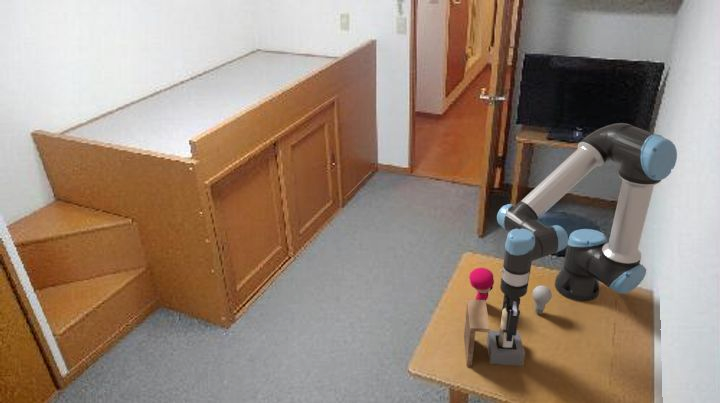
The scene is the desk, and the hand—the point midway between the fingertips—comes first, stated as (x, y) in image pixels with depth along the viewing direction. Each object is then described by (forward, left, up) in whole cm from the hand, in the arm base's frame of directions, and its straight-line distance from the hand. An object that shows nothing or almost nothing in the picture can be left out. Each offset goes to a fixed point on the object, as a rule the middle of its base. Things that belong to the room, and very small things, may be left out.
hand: (506, 340), depth 167 cm
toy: (+6, -22, -5) cm, 23 cm away
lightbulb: (-14, -20, -5) cm, 25 cm away
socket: (0, 0, -5) cm, 5 cm away
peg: (0, 0, -3) cm, 3 cm away
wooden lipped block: (+10, 0, -5) cm, 11 cm away
